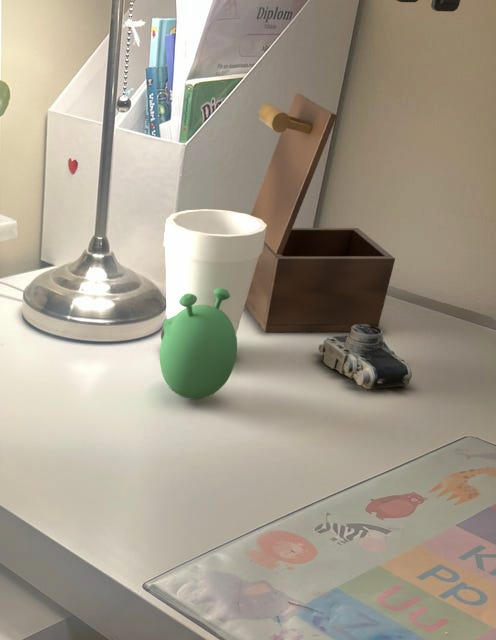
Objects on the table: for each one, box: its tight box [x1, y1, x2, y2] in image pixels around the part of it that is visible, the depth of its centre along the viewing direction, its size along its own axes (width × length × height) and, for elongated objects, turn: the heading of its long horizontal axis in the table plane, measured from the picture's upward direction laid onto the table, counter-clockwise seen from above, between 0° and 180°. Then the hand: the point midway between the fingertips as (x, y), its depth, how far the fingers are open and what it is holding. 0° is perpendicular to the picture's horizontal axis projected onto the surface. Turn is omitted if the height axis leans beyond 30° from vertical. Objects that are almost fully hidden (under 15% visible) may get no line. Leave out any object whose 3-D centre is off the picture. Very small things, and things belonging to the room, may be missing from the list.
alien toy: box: [159, 288, 238, 400], centre depth 90 cm, size 7×8×10 cm
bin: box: [245, 227, 396, 333], centre depth 109 cm, size 13×12×8 cm
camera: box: [318, 324, 413, 390], centre depth 97 cm, size 5×10×4 cm, turn 14°
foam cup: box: [163, 208, 267, 334], centre depth 97 cm, size 10×9×13 cm
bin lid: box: [250, 92, 338, 255], centre depth 101 cm, size 13×12×5 cm
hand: (424, 6), depth 88 cm, fingers open, 8 cm apart
